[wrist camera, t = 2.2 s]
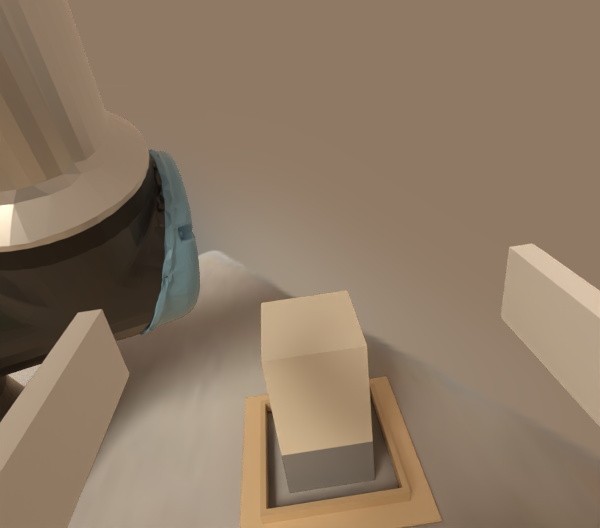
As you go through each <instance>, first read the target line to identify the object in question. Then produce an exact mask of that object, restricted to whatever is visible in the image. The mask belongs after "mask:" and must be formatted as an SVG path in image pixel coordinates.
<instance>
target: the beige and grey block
mask: <svg viewBox="0 0 600 528" xmlns="http://www.w3.org/2000/svg"><path fill="white" fill-rule="evenodd" d="M261 364H262V369H263V373H264V378H265V382H266V387H267V391H268V396H269V401H270V405H271V410H272V414H273V419H274V423H275V428H276V432H277V437H278V441H279V446H280V451H281V455H282V460H283V464H284V469H285V473H286V478H287V482H288V487H289V492H290V493H295V492H301V491H308V490H314V489H320V488H327V487H333V486H339V485H346V484H352V483H358V482H365V481H371V480H375V472H374V455H373V438H372V421H371V404H370V387H369V370H368V353H367V344H366V341H365V338H364V336H363V333H362V330H361V327H360V324H359V322H358V319H357V316H356V313H355V310H354V308H353V305H352V302H351V299H350V297H349V294H348V291H347V290H344V291H337V292H331V293H325V294H317V295H311V296H304V297H298V298H291V299H284V300H278V301H271V302H264V303H261Z"/></svg>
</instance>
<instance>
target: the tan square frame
mask: <svg viewBox="0 0 600 528" xmlns="http://www.w3.org/2000/svg"><path fill="white" fill-rule="evenodd" d="M369 387H370V396H371V398H372V401H373V404H374V408H375V411H376V414H377V417H378V420H379V423H380V427H381V430H382V433H383V436H384V439H385V442H386V446H387V449H388V452H389V455H390V458H391V461H392V465H393V468H394V471H395V474H396V477H397V480H398V484H399V487H400V488H396V489H390V490H384V491H377V492H371V493H365V494H359V495H352V496H346V497H340V498H333V499H327V500H321V501H314V502H308V503H302V504H295V505H289V506H283V507H277V508H270V509H269V502H268V438H267V412H270V411H272V410H271V405H270V401H269V396H268V394H267V395H261V396H254V397H248V398H246V400H245V423H244V445H243V467H242V489H241V511H240V528H403V527H409V526H416V525H422V524H428V523H434V522H441V521H442V519H441V517H440V514H439V512H438V509H437V506H436V504H435V501H434V498H433V496H432V493H431V491H430V488H429V485H428V483H427V480H426V478H425V475H424V472H423V470H422V467H421V465H420V462H419V459H418V457H417V454H416V451H415V449H414V446H413V444H412V441H411V438H410V436H409V433H408V431H407V428H406V425H405V423H404V420H403V418H402V415H401V412H400V410H399V407H398V404H397V402H396V399H395V397H394V394H393V391H392V389H391V386H390V384H389V381H388V378H387V376H384V377H378V378H371V379H369Z"/></svg>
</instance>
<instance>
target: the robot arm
mask: <svg viewBox="0 0 600 528" xmlns="http://www.w3.org/2000/svg"><path fill="white" fill-rule="evenodd" d="M199 288H200V272H199V260H198V252H197V246H196V240H195V237H194V234H193V232H192V221H191V212H190V207H189V203H188V199H187V195H186V191H185V188H184V184H183V182H182V178H181V175H180V173H179V170H178V168H177V166H176V163H175V161H174V160H173V158H172V157H171V156H170V155H169V154H168V153H166V152H162V151H154V150H148V147H147V144H146V142H145V139H144V137H143V136H142V135H141V133H140V132H139V131H138V129H137V128H136V127H135V126H134V125H132V124H131V123H130V122H128V121H127V120H125V119H123V118H121V117H119V116H117V115H115V114H113V113H111V112H108V111H106V110H105V108H104V105H103V102H102V99H101V97H100V94H99V91H98V88H97V85H96V82H95V79H94V77H93V74H92V71H91V68H90V65H89V62H88V59H87V57H86V54H85V51H84V48H83V45H82V42H81V39H80V37H79V34H78V31H77V28H76V25H75V23H74V20H73V17H72V14H71V11H70V8H69V5H68V2H67V0H0V528H67V526H68V524H69V522H70V519H71V517H72V514H73V512H74V509H75V507H76V505H77V502H78V500H79V497H80V495H81V492H82V490H83V487H84V485H85V483H86V480H87V478H88V475H89V473H90V470H91V468H92V465H93V463H94V461H95V458H96V456H97V453H98V451H99V448H100V446H101V444H102V441H103V439H104V436H105V434H106V431H107V429H108V426H109V424H110V422H111V419H112V417H113V414H114V412H115V409H116V407H117V404H118V402H119V400H120V397H121V395H122V392H123V390H124V387H125V385H126V383H127V380H128V378H129V375H130V374H129V372H128V369H127V367H126V365H125V362H124V360H123V358H122V355H121V353H120V350H119V348H118V346H117V343H116V341H118V340H121V339H125V338H128V337H131V336H134V335H138V334H146V333H149V332H150V331H152V330H153V329H155V327H157V326H160V325H163V324H165V323H168V322H171V321H173V320H176V319H179V318H181V317H183V316H185V315H186V314H188V313H189V312H190V311H191V310H192V309H193V307H194V306H195V304H196V302H197V299H198V296H199ZM501 318H502V319H503V320H504V322H505V323H506V324H507V325H508V326H509V327H510V328H511V329H512V330H513V332H514V333H515V334H516V335H517V336H518V337H519V338H520V339H521V340H522V341H523V343H525V345H526V346H527V347H528V348H529V349H530V350H531V351H532V353H533V354H534V355H535V356H536V357H537V358H538V359H539V360H540V361H541V363H542V364H543V365H544V366H545V367H546V368H547V369H548V370H549V371H550V373H551V374H552V375H553V376H554V377H555V378H556V379H557V380H558V381H559V383H560V384H561V385H562V386H563V387H564V388H565V389H566V390H567V391H568V392H569V393H570V395H571V396H572V397H573V398H574V399H575V400H576V401H577V402H578V404H579V405H580V406H581V407H582V408H583V409H584V410H585V411H586V412H587V413H588V415H589V416H590V417H591V418H592V419H593V420H594V421H595V422H596V423H597V425H598V426H599V427H600V291H599V290H598V289H596V288H595V287H594V286H592V285H591V284H589V283H588V282H586V281H585V280H584V279H582V278H581V277H579V276H578V275H577V274H575V273H574V272H572V271H571V270H569V269H568V268H567V267H565V266H564V265H562V264H561V263H560V262H558V261H557V260H555V259H554V258H552V257H551V256H550V255H548V254H547V253H545V252H544V251H543V250H541V249H539V248H538V247H537V246H535V245H534V244H527V245H520V246H513V247H509V254H508V262H507V270H506V278H505V286H504V294H503V302H502V310H501ZM39 364H41V366H40V367H39V368H38V370H37V371H36V373H35V374H34V375H33V377H32V378H31V380H30V381H29V382H28V384H27V385H26V387H24V386H23V385H21V384H20V383H18V382H17V381H15V380H14V379H12V378H11V377H10V376H9V375H8V374H11V373H14V372H17V371H20V370H23V369H26V368H29V367H33V366H36V365H39Z"/></svg>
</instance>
